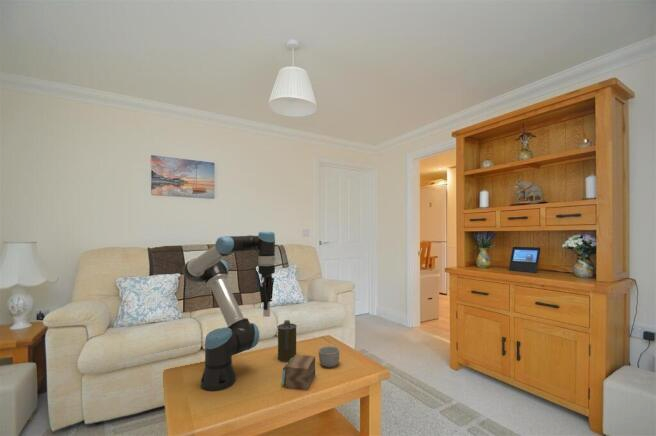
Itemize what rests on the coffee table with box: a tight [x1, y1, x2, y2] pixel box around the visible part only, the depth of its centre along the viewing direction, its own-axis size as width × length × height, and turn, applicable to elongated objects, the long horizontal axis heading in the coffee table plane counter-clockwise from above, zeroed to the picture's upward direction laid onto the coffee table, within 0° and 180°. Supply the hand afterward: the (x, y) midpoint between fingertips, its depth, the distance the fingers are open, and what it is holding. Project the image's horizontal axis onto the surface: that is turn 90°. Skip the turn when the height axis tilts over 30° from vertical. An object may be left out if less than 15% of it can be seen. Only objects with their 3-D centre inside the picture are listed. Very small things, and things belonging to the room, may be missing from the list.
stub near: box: [280, 363, 288, 386], centre depth 144 cm, size 7×5×1 cm
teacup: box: [318, 344, 340, 368], centre depth 166 cm, size 14×11×8 cm
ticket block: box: [285, 354, 316, 391], centre depth 147 cm, size 10×14×9 cm
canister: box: [277, 319, 297, 363], centre depth 173 cm, size 11×10×20 cm
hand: (266, 316), depth 146 cm, fingers closed
